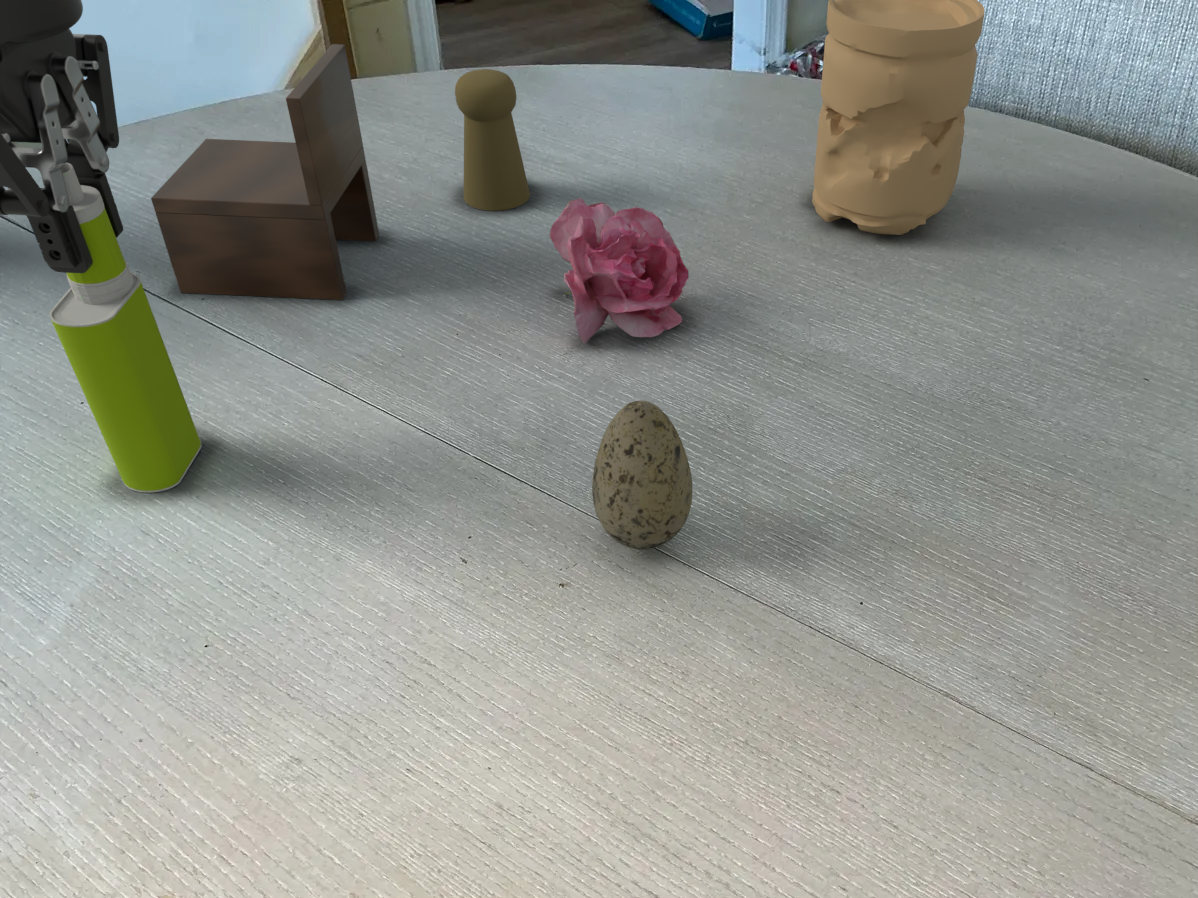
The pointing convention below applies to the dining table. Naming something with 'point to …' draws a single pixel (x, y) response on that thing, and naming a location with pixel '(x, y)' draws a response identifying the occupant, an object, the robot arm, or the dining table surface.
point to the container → (893, 109)
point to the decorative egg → (641, 478)
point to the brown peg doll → (490, 141)
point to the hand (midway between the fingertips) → (88, 251)
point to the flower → (619, 268)
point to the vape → (122, 357)
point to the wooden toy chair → (274, 200)
